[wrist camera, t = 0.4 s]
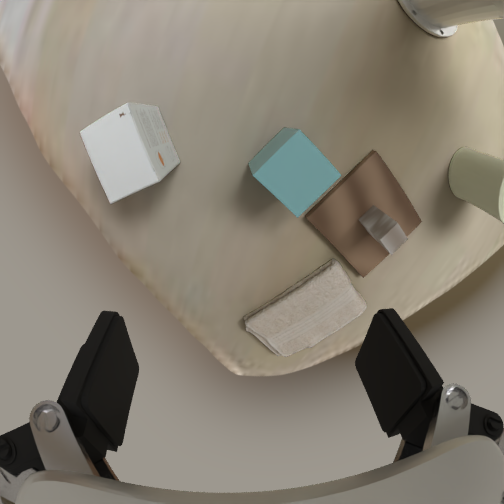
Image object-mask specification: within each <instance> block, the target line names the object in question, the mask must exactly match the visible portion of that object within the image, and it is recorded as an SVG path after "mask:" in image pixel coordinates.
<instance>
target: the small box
mask: <svg viewBox="0 0 504 504" xmlns="http://www.w3.org/2000/svg"><path fill="white" fill-rule="evenodd" d="M80 135H81V138H82V140H83V143H84V146H85V148H86V150H87V153H88V155H89V158H90V160H91V162H92V165H93V167H94V169H95V172H96V174H97V176H98V178H99V181H100V183H101V185H102V187H103V189H104V192H105V194H106V196H107V198H108V200H109V202H110V204H112V203H115V202H117V201H119V200H121V199H123V198H125V197H127V196H129V195H131V194H134V193H136V192H138V191H140V190H142V189H145V188H147V187H149V186H151V185H153V184H156V183H158V182H160V181H161V180H162V179H163V178H164V177H165V176H166V175H167V174H168V173H169V172H171V171H172V170H173V169H174V168H175V167H176V166H177V165H178V164H179V163H180V160H179V158H178V156H177V153H176V151H175V148H174V146H173V143H172V141H171V138H170V136H169V133H168V131H167V128H166V126H165V123H164V121H163V118H162V116H161V113H160V111H159V108H158V106H154V105H146V104H139V103H130V102H127V103H125V104H124V105H122V106H120V107H118V108H117V109H115V110H113V111H112V112H110V113H108V114H107V115H105V116H103V117H102V118H100V119H98V120H97V121H95V122H94V123H92V124H91V125H89V126H87V127H86V128H84V129H83V130H81V131H80Z"/></svg>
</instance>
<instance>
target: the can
mask: <svg viewBox="0 0 504 504" xmlns="http://www.w3.org/2000/svg"><path fill="white" fill-rule="evenodd" d="M449 184H450V188H451V190H452V192H453V194H454V195H455V196H456V197H457V198H459V199H463V200H465V201H467V202H469V203H471V204H473V205H474V206H476V207H478V208H480V209H482V210H483V211H485V212H487V213H488V214H490V215H492V216H493V217H495V218H497V219H498V220H500V221H501V222H502V223H503V224H504V160H503V159H500V158H497V157H494V156H492V155H489V154H485V153H482V152H479V151H476V150H474V149H472V148H470V147H462V148H460V149H459V150H457V151H456V153H455V154H454V156H453V158H452V160H451V163H450V166H449Z"/></svg>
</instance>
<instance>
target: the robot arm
mask: <svg viewBox="0 0 504 504" xmlns="http://www.w3.org/2000/svg"><path fill="white" fill-rule="evenodd" d="M398 1H399V3H400V5H401V6H402V8H403V9H404V11H405V12H406V13H407V14H408V16H409V17H410V18H411V19H412V20H413V21H414V22H415V23H416V24H417V25H418V26H420V27H421V28H422V29H423V30H425V31H426V32H428V33H430V34H432V35H434V36H437V37H449V36H452V35H453V34H454V33H455V32H456V30H457V26H458V25H461V24H466V23H472V22H478V21H485V20H493V19H502V18H504V0H398ZM355 366H356V369H357V371H358V373H359V376H360V378H361V380H362V382H363V385H364V387H365V389H366V392H367V394H368V397H369V399H370V401H371V404H372V406H373V408H374V411H375V413H376V416H377V418H378V421H379V423H380V426H381V428H382V430H383V431H384V432H386V433H387V435H388V437H392V436H395V435H398V434H399V433H400V434H401V436H402V440H401V443H400V446H399V448H398V451H397V454H396V457H395V459H394V461H393V463H392V464H389V465H386V466H383V467H380V468H377V469H374V470H371V471H368V472H364V473H361V474H358V475H355V476H350V477H347V478H343V479H339V480H334V481H330V482H325V483H320V484H315V485H310V486H304V487H298V488H291V489H283V490H274V491H263V492H244V493H205V492H189V491H178V490H168V489H161V488H154V487H147V486H141V485H135V484H130V483H125V482H121V481H119V479H118V478H117V476H116V475H115V473H114V472H113V470H112V469H111V467H110V465H109V464H108V462H107V460H106V459H105V456H106V451H107V450H111V451H115V452H117V448H118V446H121V445H122V443H123V439H124V434H125V428H126V424H127V419H128V415H129V410H130V406H131V402H132V397H133V393H134V389H135V385H136V381H137V377H138V373H139V365H138V362H137V359H136V356H135V353H134V351H133V348H132V344H131V342H130V338H129V335H128V332H127V328H126V326H125V322H124V319H123V317H122V316H119V314H118V312H111V311H102V312H101V314H100V315H99V317H98V319H97V321H96V323H95V325H94V327H93V329H92V331H91V333H90V335H89V337H88V339H87V341H86V343H85V344H84V345H82V347H81V348H80V351H79V353H78V355H77V357H76V359H75V361H74V363H73V365H72V368H71V370H70V372H69V374H68V377H67V379H66V381H65V383H64V386H63V388H62V391H61V393H60V395H59V398H58V400H57V403H56V402H54V401H50V400H46V401H41V402H40V403H38V404H36V405H35V406H34V407H33V409H32V411H31V413H30V418H29V419H30V422H29V423H27V424H25V425H23V426H21V427H18V428H16V429H14V430H12V431H10V432H7V433H5V434H3V435H1V436H0V504H504V428H503V422H502V419H501V417H500V416H499V415H498V414H497V413H495V412H492V411H490V410H487V409H484V408H482V407H479V406H476V405H474V404H471V398H470V395H469V393H468V392H467V390H466V389H465V388H464V387H462V386H460V385H458V384H449V385H447V386H445V387H444V388H443V387H442V385H443V383H444V382H443V380H442V379H441V377H440V375H439V374H438V372H437V371H436V369H435V368H434V366H433V364H432V363H431V362H430V360H429V358H428V357H427V355H426V354H425V352H424V351H423V349H422V348H421V346H420V345H419V343H418V342H417V341H416V339H415V338H414V336H413V335H412V333H411V332H410V330H409V329H408V328H407V326H406V325H405V323H404V322H403V321H402V319H401V318H400V316H399V315H398V314H397V312H396V311H395V310H394V309H392V308H390V309H381V310H379V311H378V312H377V314H375V315H374V317H373V319H372V322H371V324H370V327H369V329H368V332H367V334H366V337H365V339H364V342H363V344H362V347H361V349H360V351H359V353H358V356H357V358H356V361H355Z"/></svg>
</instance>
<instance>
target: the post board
mask: <svg viewBox="0 0 504 504" xmlns="http://www.w3.org/2000/svg"><path fill="white" fill-rule="evenodd" d="M305 217H306V218H307V219H308V220H309V221H310V222H311V223H312V224H313V225H314V226H315V227H316V228H317V229H318V230H319V231H320V232H321V233H322V234H323V235H324V236H325V237H326V239H327V240H328V241H329V242H330V243H331V244H332V245H333V246H334V247H335V248H336V249H337V250H338V251H339V252H340V253H341V254H342V255H343V256H344V257H345V258H346V260H347V261H348V262H349V263H350V264H351V265H352V266H353V267H354V268H355V269H356V270H357V271H358V273H359V274H360V275H361V276H362V277H363V278H364V277H365V276H366V275H367V274H368V273H369V272H370V271H371V270H372V269H374V268H375V267H376V266H377V265H378V264H379V263H380V262H381V261H382V260H383V259H384V258H385V257H387V256H388V255H389V254H391V255H392V254H393V253H394V252H395V251H396V250H397V249H398V248H399V247H400V246H401V245H402V244H403V243H404V242H405V241H406V240H407V239H408V238H407V236H408V235H409V234H410V233H411V232H412V231H413V230H414V229H415V228H416V227H417V226H418V225H419V224H420V223H421V222H422V221H421V219H420V218H419V216H418V214H417V212H416V211H415V209H414V207H413V206H412V204H411V202H410V201H409V199H408V197H407V196H406V194H405V193H404V191H403V189H402V188H401V186H400V185H399V183H398V182H397V180H396V179H395V177H394V176H393V174H392V173H391V171H390V170H389V168H388V167H387V165H386V164H385V163H384V161H383V160H382V158H381V157H380V156H379V154H378V153H377V152H376V151H374V150H372V151H371V152H370V153H369V154H368V155H367V156H366V157H365V158H364V159H363V160H362V161H361V162H360V163H359V164H358V165H357V166H356V167H355V168H354V169H353V170H352V171H351V172H350V173H349V174H348V175H347V176H346V177H344V178H343V179H342V180H341V181H340V182H339V183H338V184H337V185H336V186H335V187H334V188H333V189H332V190H331V191H330V192H329V193H328V194H327V195H326V196H325V197H324V198H323V199H322V200H321V201H320V202H319V203H318V204H316V205H315V206H314V207H313V208H312V209H311V210H310V211H309V212H308V213H307V214H306V215H305Z"/></svg>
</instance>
